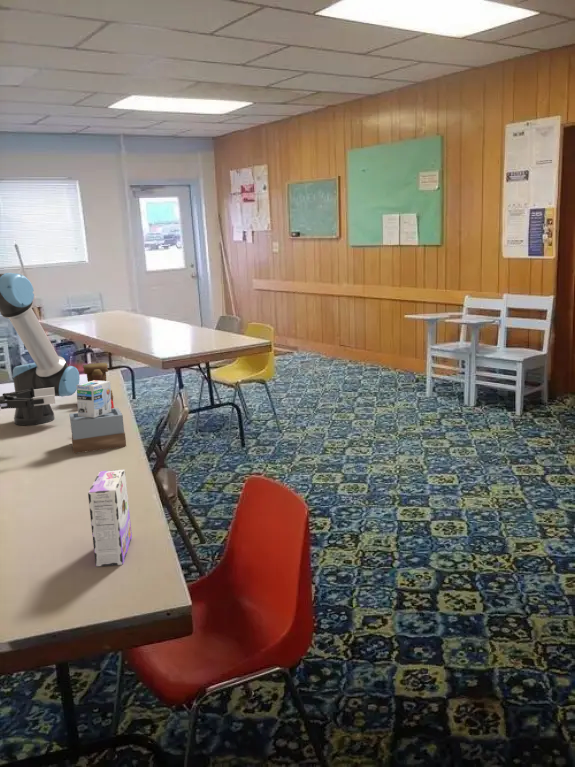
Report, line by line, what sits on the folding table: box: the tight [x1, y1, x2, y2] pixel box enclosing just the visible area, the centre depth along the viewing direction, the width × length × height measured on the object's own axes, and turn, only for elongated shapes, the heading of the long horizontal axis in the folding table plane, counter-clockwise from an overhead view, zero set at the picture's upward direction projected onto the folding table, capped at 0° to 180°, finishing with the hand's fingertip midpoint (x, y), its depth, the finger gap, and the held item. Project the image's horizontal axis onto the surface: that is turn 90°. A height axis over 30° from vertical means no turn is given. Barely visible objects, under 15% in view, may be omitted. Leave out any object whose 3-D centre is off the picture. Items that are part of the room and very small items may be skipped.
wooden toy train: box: [82, 362, 114, 402], centre depth 301 cm, size 20×11×17 cm, turn 19°
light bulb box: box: [76, 380, 112, 418], centre depth 232 cm, size 11×7×11 cm, turn 162°
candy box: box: [87, 469, 133, 567], centre depth 147 cm, size 14×6×16 cm, turn 5°
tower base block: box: [71, 431, 127, 454], centre depth 235 cm, size 13×17×5 cm
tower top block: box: [69, 407, 125, 440], centre depth 234 cm, size 12×16×6 cm
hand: (54, 395), depth 229 cm, fingers open, 13 cm apart
